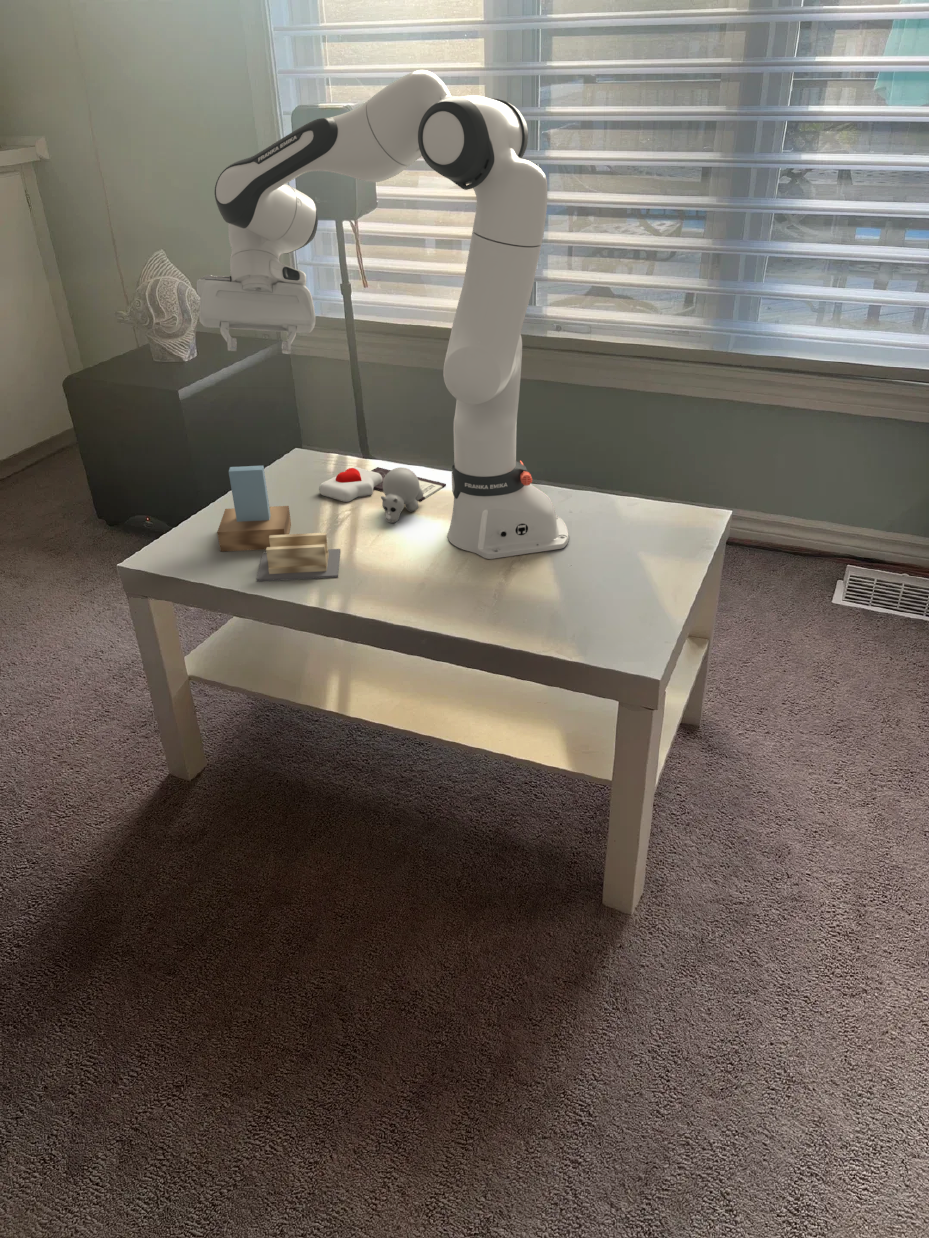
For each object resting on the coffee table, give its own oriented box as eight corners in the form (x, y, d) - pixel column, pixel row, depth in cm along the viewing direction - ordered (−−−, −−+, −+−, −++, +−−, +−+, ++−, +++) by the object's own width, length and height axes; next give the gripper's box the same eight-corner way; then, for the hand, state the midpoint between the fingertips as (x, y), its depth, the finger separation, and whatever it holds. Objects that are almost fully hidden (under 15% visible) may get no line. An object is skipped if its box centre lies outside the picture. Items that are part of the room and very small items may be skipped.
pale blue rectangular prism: (270, 515, 172) (263, 465, 166) (269, 520, 170) (262, 469, 165) (238, 517, 171) (230, 467, 166) (236, 521, 170) (228, 471, 164)
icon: (351, 487, 182) (314, 476, 187) (353, 507, 184) (316, 496, 189) (390, 467, 191) (353, 457, 196) (391, 486, 193) (355, 476, 198)
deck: (291, 524, 177) (288, 505, 175) (286, 548, 169) (283, 528, 167) (228, 527, 177) (225, 508, 175) (220, 551, 168) (217, 532, 166)
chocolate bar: (377, 467, 200) (445, 483, 192) (377, 471, 201) (446, 488, 192) (351, 481, 194) (421, 499, 185) (352, 485, 194) (421, 503, 186)
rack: (328, 555, 166) (326, 531, 164) (326, 573, 161) (324, 548, 158) (273, 558, 166) (269, 534, 163) (269, 576, 160) (265, 551, 157)
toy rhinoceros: (375, 531, 180) (363, 501, 173) (396, 488, 187) (387, 457, 180) (408, 536, 178) (398, 506, 171) (429, 492, 184) (420, 461, 178)
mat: (340, 550, 168) (340, 548, 168) (337, 577, 159) (337, 575, 159) (263, 554, 167) (263, 552, 167) (256, 581, 159) (256, 579, 158)
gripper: (195, 264, 158) (199, 339, 156) (314, 274, 165) (318, 346, 163) (195, 283, 164) (198, 355, 162) (309, 291, 171) (314, 361, 169)
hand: (259, 351), depth 163 cm, fingers open, 8 cm apart
